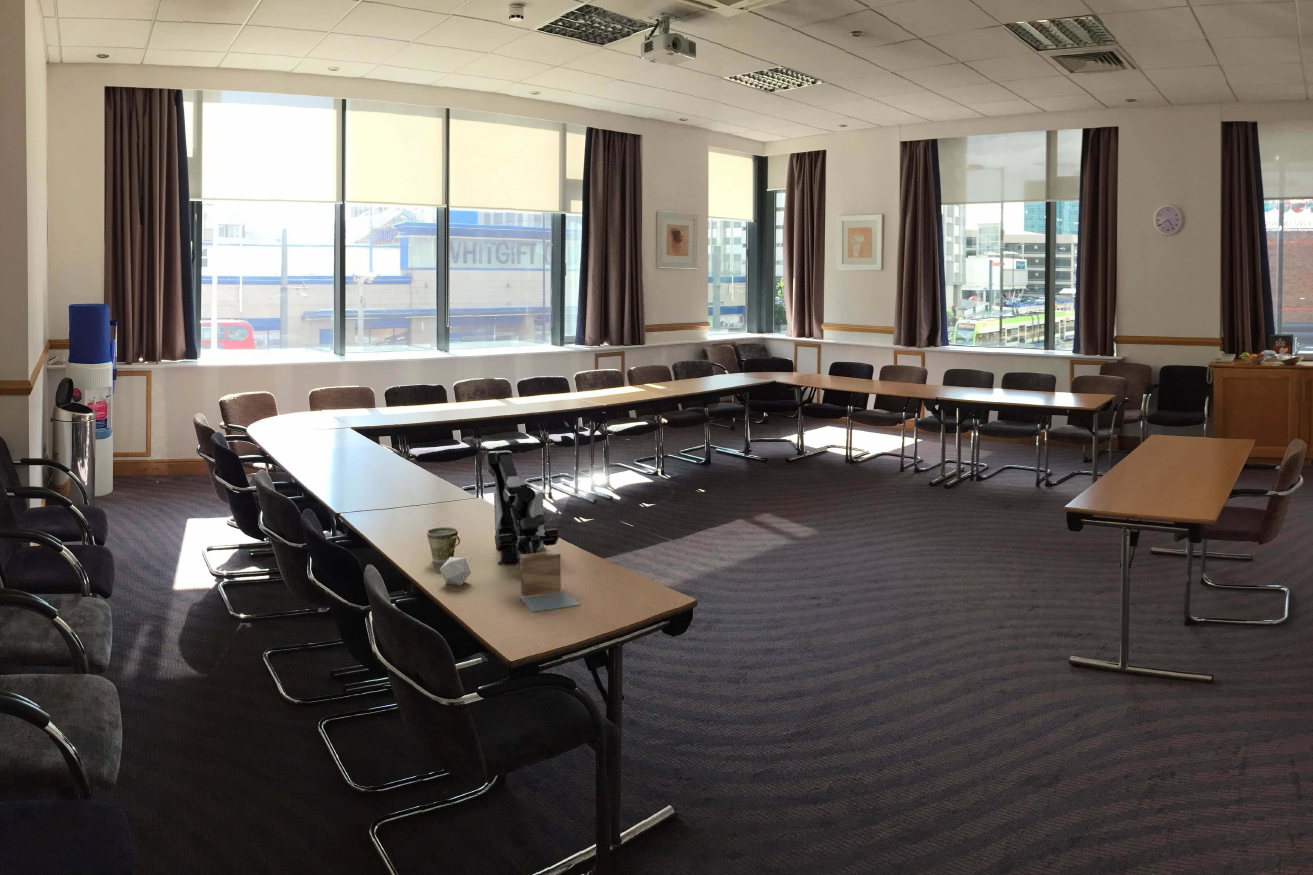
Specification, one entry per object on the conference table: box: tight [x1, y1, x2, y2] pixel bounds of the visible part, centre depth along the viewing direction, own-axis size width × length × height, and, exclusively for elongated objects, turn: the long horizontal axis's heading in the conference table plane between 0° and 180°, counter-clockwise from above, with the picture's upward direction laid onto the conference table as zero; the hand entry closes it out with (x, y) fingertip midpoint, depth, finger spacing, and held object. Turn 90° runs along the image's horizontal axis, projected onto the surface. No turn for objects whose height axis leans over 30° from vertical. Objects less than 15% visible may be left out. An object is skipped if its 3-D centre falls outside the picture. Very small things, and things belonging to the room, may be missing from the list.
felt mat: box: [519, 591, 581, 613], centre depth 269 cm, size 12×14×1 cm
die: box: [439, 556, 472, 586], centre depth 285 cm, size 8×9×10 cm
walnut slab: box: [519, 550, 562, 598], centre depth 276 cm, size 4×11×12 cm, turn 115°
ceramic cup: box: [426, 526, 461, 564], centre depth 308 cm, size 13×10×10 cm
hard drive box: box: [493, 490, 545, 552], centre depth 323 cm, size 16×8×20 cm, turn 74°
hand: (534, 563), depth 280 cm, fingers closed
